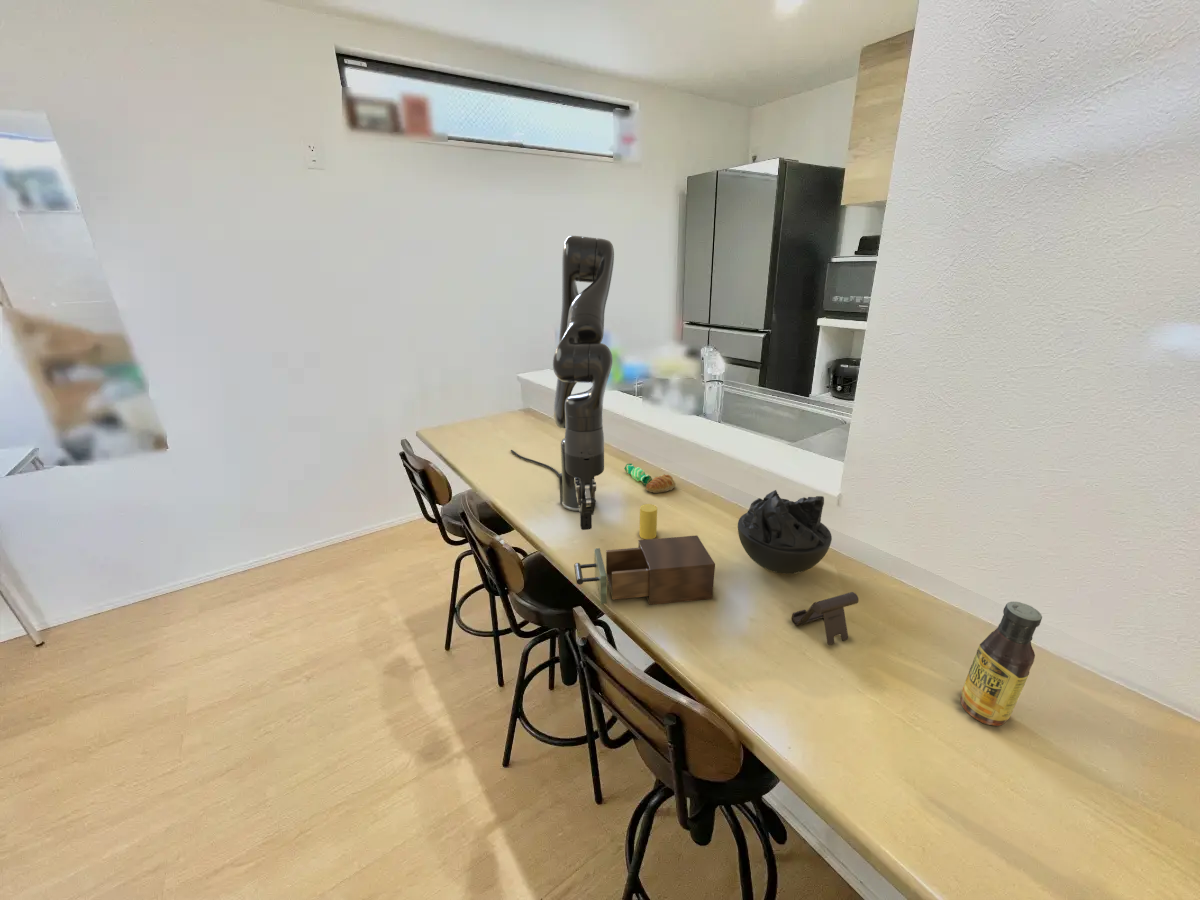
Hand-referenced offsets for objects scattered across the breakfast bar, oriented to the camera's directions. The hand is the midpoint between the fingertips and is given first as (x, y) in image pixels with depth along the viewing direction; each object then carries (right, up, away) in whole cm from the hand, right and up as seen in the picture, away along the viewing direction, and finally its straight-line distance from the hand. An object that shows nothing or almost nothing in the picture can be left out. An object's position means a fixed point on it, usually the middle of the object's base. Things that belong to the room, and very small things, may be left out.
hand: (586, 527), depth 100 cm
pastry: (+22, +4, +55) cm, 60 cm away
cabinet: (+19, -14, +8) cm, 25 cm away
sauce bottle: (+63, -25, -23) cm, 72 cm away
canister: (+15, -6, +28) cm, 33 cm away
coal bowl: (+44, -11, +14) cm, 48 cm away
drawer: (+6, -14, +6) cm, 16 cm away
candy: (+15, +6, +62) cm, 64 cm away
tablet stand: (+46, -19, -5) cm, 50 cm away
